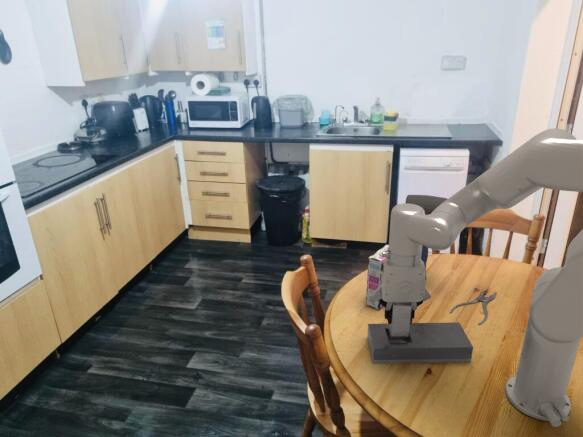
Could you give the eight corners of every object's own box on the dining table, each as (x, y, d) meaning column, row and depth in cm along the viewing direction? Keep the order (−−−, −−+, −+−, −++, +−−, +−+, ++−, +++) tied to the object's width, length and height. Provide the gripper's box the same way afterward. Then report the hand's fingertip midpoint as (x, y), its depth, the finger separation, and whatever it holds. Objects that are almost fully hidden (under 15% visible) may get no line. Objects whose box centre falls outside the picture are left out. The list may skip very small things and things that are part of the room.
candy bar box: (380, 311, 128) (382, 262, 122) (365, 305, 131) (367, 257, 124) (397, 294, 136) (400, 247, 129) (383, 289, 139) (385, 243, 132)
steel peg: (408, 336, 108) (411, 305, 104) (390, 336, 108) (393, 306, 104) (404, 325, 112) (407, 295, 108) (387, 325, 112) (389, 296, 109)
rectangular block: (470, 362, 107) (473, 347, 105) (373, 363, 108) (374, 348, 106) (457, 336, 116) (459, 322, 114) (367, 337, 117) (368, 323, 115)
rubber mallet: (398, 284, 141) (404, 198, 130) (401, 273, 147) (408, 190, 136) (438, 291, 137) (448, 202, 125) (440, 279, 143) (450, 194, 132)
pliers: (448, 314, 125) (465, 283, 140) (447, 317, 125) (464, 285, 140) (484, 325, 119) (497, 291, 135) (483, 327, 120) (497, 293, 135)
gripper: (370, 264, 98) (367, 330, 105) (445, 263, 98) (437, 329, 105) (366, 249, 105) (363, 312, 112) (436, 248, 105) (428, 311, 112)
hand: (398, 319), depth 109 cm, fingers closed on steel peg, 4 cm apart
